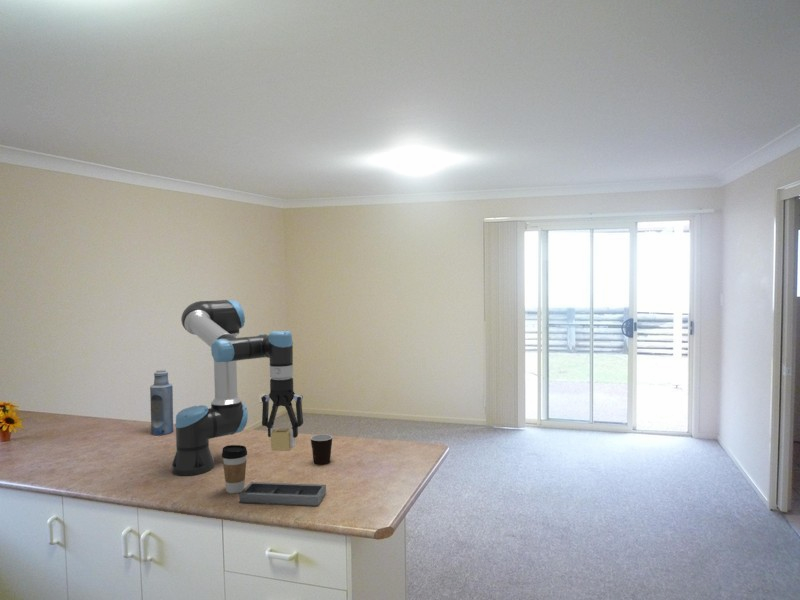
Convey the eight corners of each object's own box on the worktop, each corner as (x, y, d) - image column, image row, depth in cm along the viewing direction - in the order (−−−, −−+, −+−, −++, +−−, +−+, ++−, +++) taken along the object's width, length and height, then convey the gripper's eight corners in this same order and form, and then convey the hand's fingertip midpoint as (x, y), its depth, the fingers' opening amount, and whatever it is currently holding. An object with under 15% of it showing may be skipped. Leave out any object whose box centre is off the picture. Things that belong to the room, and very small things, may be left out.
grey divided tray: (239, 502, 172) (239, 493, 172) (251, 490, 182) (251, 482, 182) (318, 506, 169) (318, 497, 169) (326, 493, 179) (325, 484, 179)
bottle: (146, 435, 248) (144, 371, 247) (159, 429, 258) (157, 368, 256) (165, 436, 246) (163, 372, 245) (177, 430, 256) (175, 368, 255)
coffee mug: (328, 466, 205) (328, 441, 204) (307, 465, 206) (307, 440, 206) (338, 456, 216) (337, 432, 216) (318, 455, 218) (317, 431, 217)
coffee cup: (225, 485, 187) (224, 443, 186) (250, 484, 188) (249, 443, 187) (219, 495, 179) (218, 451, 178) (245, 494, 179) (244, 450, 179)
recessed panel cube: (271, 450, 173) (270, 431, 173) (277, 444, 179) (277, 426, 179) (289, 450, 172) (288, 431, 172) (294, 445, 178) (294, 426, 178)
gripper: (249, 379, 172) (251, 449, 173) (306, 380, 170) (307, 450, 171) (258, 375, 180) (259, 442, 180) (312, 375, 177) (314, 443, 178)
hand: (283, 446), depth 176 cm, fingers closed on recessed panel cube, 6 cm apart
